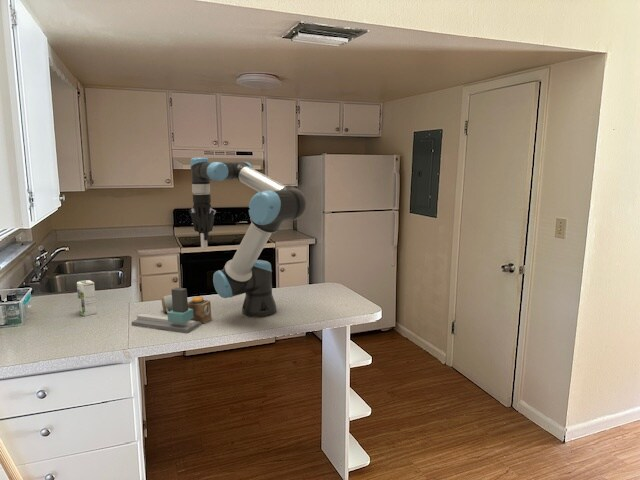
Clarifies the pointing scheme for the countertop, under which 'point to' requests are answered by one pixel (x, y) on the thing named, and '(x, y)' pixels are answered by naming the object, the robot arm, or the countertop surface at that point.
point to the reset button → (197, 299)
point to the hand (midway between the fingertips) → (204, 247)
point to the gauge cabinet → (200, 311)
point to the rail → (164, 323)
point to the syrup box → (86, 297)
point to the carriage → (180, 307)
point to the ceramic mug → (167, 303)
